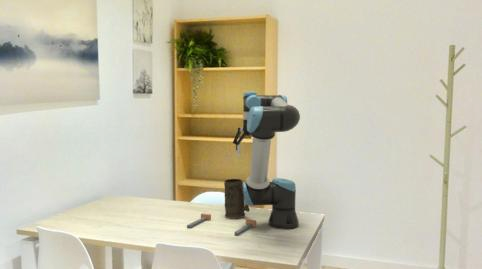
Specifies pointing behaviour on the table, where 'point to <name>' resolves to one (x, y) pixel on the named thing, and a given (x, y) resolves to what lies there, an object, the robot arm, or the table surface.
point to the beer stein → (234, 199)
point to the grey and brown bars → (208, 217)
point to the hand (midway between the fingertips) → (249, 157)
